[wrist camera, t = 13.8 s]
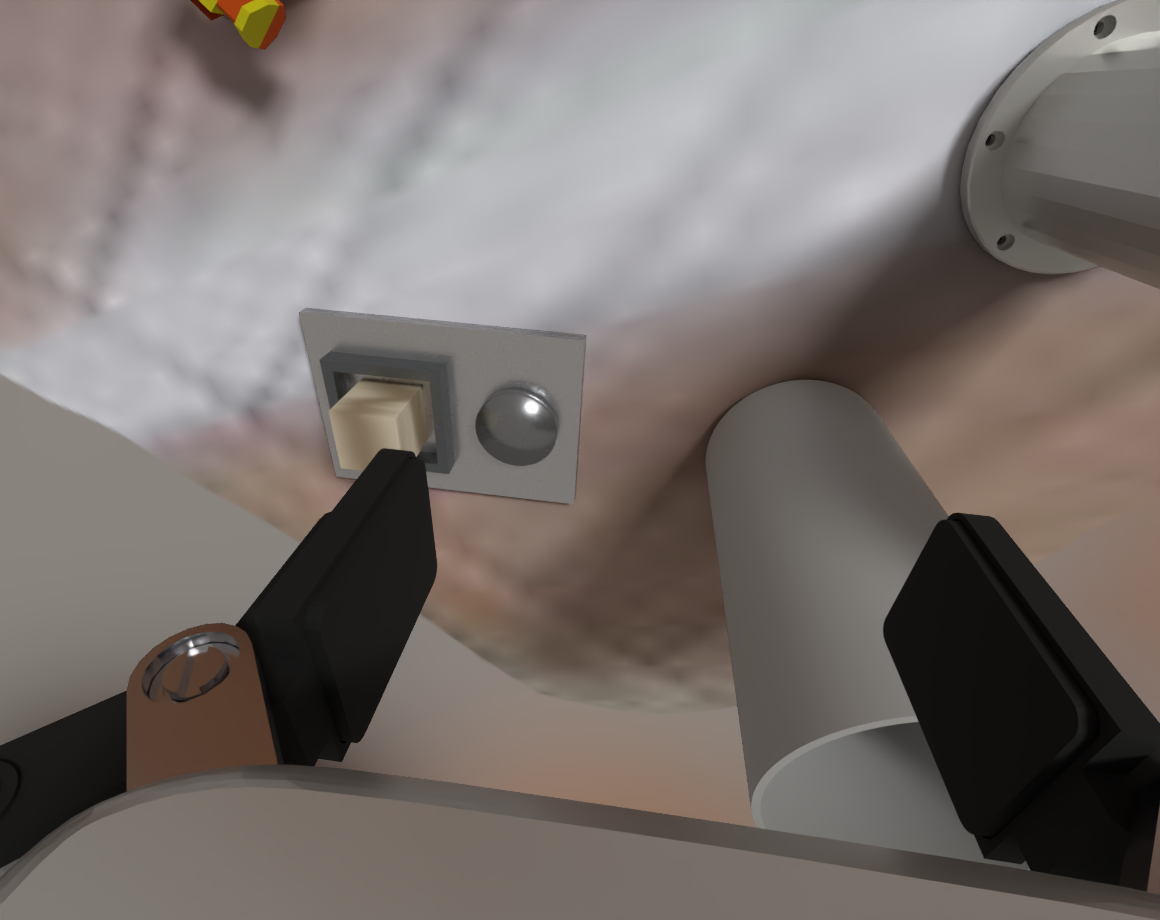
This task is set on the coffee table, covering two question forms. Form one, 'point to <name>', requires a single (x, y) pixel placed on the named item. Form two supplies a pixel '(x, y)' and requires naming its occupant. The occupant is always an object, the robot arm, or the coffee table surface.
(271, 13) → the yellow toy car
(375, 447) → the block
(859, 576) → the cylinder vase
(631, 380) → the coffee table surface
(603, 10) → the coffee table surface
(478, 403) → the carrier plate
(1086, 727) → the robot arm
